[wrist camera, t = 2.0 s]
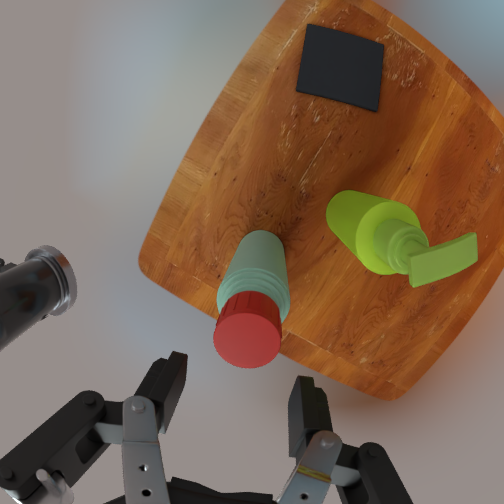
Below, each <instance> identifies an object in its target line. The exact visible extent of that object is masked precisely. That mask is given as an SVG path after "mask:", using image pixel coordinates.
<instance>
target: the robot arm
mask: <svg viewBox="0 0 504 504" xmlns="http://www.w3.org/2000/svg"><path fill="white" fill-rule="evenodd" d="M0 263H1V264H0V351H2V350H3V349H4V348H5V347H6V346H8V345H9V344H10V343H11V342H13V341H14V340H15V339H16V338H18V337H19V336H20V335H21V334H23V333H24V332H25V331H27V330H28V329H29V328H31V327H32V326H33V325H35V324H36V323H37V322H39V321H41V320H43V319H44V318H46V317H45V316H46V315H48V314H49V313H51V312H52V311H53V310H56V309H57V308H59V307H60V306H61V304H62V302H63V299H64V287H63V283H62V279H61V277H60V275H59V273H58V271H57V269H56V268H55V266H54V265H53V264H52V263H51V262H50V261H49V260H48V259H46V258H44V257H41V256H37V257H34V258H32V259H30V260H29V261H25V262H23V263H21V264H19V265H16V264H13V263H9V264H7V265H4V263H5V262H4V260H3V259H1V258H0ZM187 359H188V356H187V354H183V353H179V352H175V351H173V352H172V353H171V355H170V357H169V359H168V360H167V359H164V358H160V359H158V360H157V361H155V362H154V363H153V364H152V366H151V368H150V369H149V371H148V372H147V374H146V376H145V377H144V379H143V381H142V382H141V384H140V386H139V388H138V389H137V391H136V393H135V394H134V396H131V397H129V398H127V399H126V400H125V401H123V402H113V401H104V398H103V397H102V395H101V394H99V393H97V392H95V391H90V390H88V391H83V392H80V393H79V394H78V395H76V396H75V397H74V398H73V399H72V400H70V401H69V402H68V403H67V404H66V405H64V406H63V407H62V408H61V409H60V410H59V411H57V412H56V413H55V414H54V415H53V416H51V417H50V418H49V419H48V420H47V421H46V422H44V423H43V424H42V425H41V426H40V427H39V428H37V429H36V430H35V431H34V432H33V433H31V434H30V435H29V436H28V437H27V438H26V439H24V440H23V441H22V442H21V443H20V444H18V445H17V446H16V447H15V448H14V449H12V450H11V451H10V452H9V453H8V454H7V455H5V456H4V457H3V458H2V459H1V460H0V487H1V488H2V489H3V490H4V491H5V492H6V493H7V494H8V495H9V496H11V498H13V499H14V500H15V501H16V502H17V503H18V504H72V503H73V501H74V495H73V492H72V490H71V489H70V488H71V487H72V486H73V485H74V484H75V483H76V482H77V481H78V480H79V479H80V478H81V476H82V475H83V474H84V473H85V472H86V471H87V470H88V469H89V468H90V467H91V465H92V464H93V463H94V462H95V461H96V460H97V459H98V458H99V457H100V456H101V454H102V453H103V452H104V451H105V450H106V449H107V448H108V447H109V445H110V444H111V443H113V444H122V462H123V463H122V464H123V477H124V489H125V495H123V496H120V497H118V498H116V499H114V500H111V501H109V502H106V503H104V504H322V503H323V501H324V498H325V496H326V494H327V491H328V489H329V486H330V484H335V485H336V488H337V490H338V493H339V496H340V499H341V502H342V504H413V502H412V500H411V498H410V496H409V494H408V493H407V491H406V489H405V487H404V485H403V483H402V481H401V479H400V477H399V476H398V474H397V472H396V470H395V468H394V466H393V464H392V462H391V461H390V459H389V457H388V455H387V453H386V451H385V450H384V448H383V447H382V446H380V445H379V444H377V443H373V442H367V443H364V444H363V445H361V446H360V448H358V447H354V446H350V445H347V444H344V443H342V440H341V438H340V437H339V436H338V435H337V434H335V433H334V432H333V428H332V423H331V417H330V412H329V406H328V401H327V396H326V394H325V392H324V391H323V390H322V388H317V387H315V386H314V379H313V377H307V376H298V377H297V379H296V381H295V384H294V387H293V390H292V392H291V395H290V398H289V402H288V427H289V457H296V466H295V468H294V470H293V472H292V473H291V475H290V477H289V479H288V481H287V482H286V484H285V486H284V488H283V489H282V491H281V493H280V494H279V496H278V497H277V499H276V500H275V501H273V500H272V499H273V495H272V494H262V493H253V492H239V493H220V492H217V491H215V490H212V489H210V488H208V487H205V486H203V485H201V484H199V483H196V482H192V481H187V480H184V479H180V478H176V477H172V479H171V482H166V479H165V474H164V468H163V463H162V457H161V450H160V444H159V440H158V433H163V434H165V433H166V430H167V428H168V426H169V423H170V420H171V418H172V416H173V413H174V411H175V408H176V406H177V403H178V401H179V398H180V396H181V393H182V391H183V388H184V385H185V381H186V373H187Z"/></svg>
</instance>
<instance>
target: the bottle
mask: <svg viewBox="0 0 504 504" xmlns="http://www.w3.org/2000/svg"><path fill="white" fill-rule="evenodd" d="M242 291H258V292H261V293H264V294H266V295H267V296H269V297H270V298H271V299H273V301H274V302H275V303H276V305H277V306H278V308H279V312H280V318H281V323H282V322H283V321H284V319H285V318H286V316H287V314H288V312H289V308H290V294H289V286H288V277H287V270H286V262H285V254H284V248H283V245H282V242H281V241H280V239H279V238H278V237H277V236H276V235H274V234H273V233H271V232H268V231H264V230H257V231H253V232H251V233H249V234H247V235H246V236H245V237H244V238H243V239H242V240H241V242H240V244H239V246H238V248H237V250H236V253H235V255H234V257H233V259H232V261H231V263H230V265H229V268H228V270H227V272H226V274H225V276H224V278H223V280H222V283H221V285H220V287H219V290H218V293H217V306H218V310H219V313H220V312H221V310H222V307H224V305H225V303H226V302H227V300H228V299H229V298H230V297H232V296H233V295H235V294H236V293H239V292H242Z"/></svg>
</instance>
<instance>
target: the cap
mask: <svg viewBox="0 0 504 504" xmlns="http://www.w3.org/2000/svg"><path fill="white" fill-rule="evenodd" d="M281 338H282V328H281V318H280V312H279V308H278V306H277V305H276V303H275V302H274V301H273V299H271V298H270V297H269V296H267V295H266V294H264V293H261V292H258V291H242V292H239V293H236V294H235V295H233V296H232V297H230V298H229V299H228V300H227V302H226V303H225V305H224V307H222V310H221V312H220V315H219V318H218V320H217V323H216V329H215V332H214V337H213V339H214V346H215V348H216V350H217V352H218V353H219V355H220V356H221V357H222V358H223V359H224V360H225V361H227V362H228V363H230V364H232V365H234V366H237V367H241V368H257V367H260V366H263V365H266V364H267V363H269V362H270V361H272V360H273V359H274V358H275V357H276V355H277V354H278V352H279V350H280V346H281Z"/></svg>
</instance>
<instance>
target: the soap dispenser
mask: <svg viewBox="0 0 504 504" xmlns="http://www.w3.org/2000/svg"><path fill="white" fill-rule="evenodd" d="M326 220H327V223H328V226H329V227H330V229H331V230H332V231H333V233H334V234H335V235H336V236H337V237H338V238H339V239H340V240H341V241H342V242H343V243H344V244H345V245H346V246H347V247H348V248H349V249H350V250H351V251H352V252H353V254H354V255H355V256H356V257H357V258H358V259H359V260H360V261H361V262H362V263H363V264H364V265H365V266H366V267H367V268H368V269H369V270H371V271H373V272H375V273H377V274H382V275H389V274H394V273H400V274H409V282H410V285H411V286H412V287H417V286H421V285H424V284H427V283H430V282H433V281H436V280H439V279H442V278H445V277H448V276H450V275H453V274H455V273H457V272H459V271H461V270H463V269H465V268H467V267H468V266H470V265H472V264H473V263H474V262H476V261H477V259H478V256H477V236H476V233H467V234H465V235H463V236H461V237H459V238H456V239H454V240H451V241H449V242H446V243H443V244H439V245H436V246H433V247H430V248H429V242H428V239H427V236H426V235H425V233H424V232H423V231H422V230H421V226H420V223H419V220H418V218H417V216H416V215H415V213H414V212H413V211H412V210H411V209H410V208H409V207H408V206H406V205H404V204H402V203H400V202H396V201H393V200H389V199H385V198H382V197H378V196H374V195H370V194H366V193H362V192H358V191H354V190H345V191H342V192H339V193H338V194H336V195H335V196H334V197H333V198H332V199H331V200H330V202H329V204H328V206H327V210H326Z"/></svg>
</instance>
